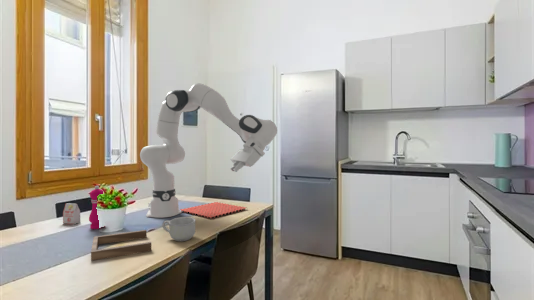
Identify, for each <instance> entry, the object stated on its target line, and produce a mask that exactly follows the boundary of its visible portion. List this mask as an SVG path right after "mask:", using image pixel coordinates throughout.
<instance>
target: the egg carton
mask: <svg viewBox="0 0 534 300" xmlns="http://www.w3.org/2000/svg"><path fill="white" fill-rule="evenodd" d="M246 209H248V207H247V206H246V207H244V206H240V205H239V206H238V205H235V204H229V203H223V202H218V201H214V202H210V203H205V204H200V205H197V206H196V205H195V206H191V207H187V208H186V207H185V208H183V209H182V208H179V210H180V211H182V212H183V213H184V214H188V212H189V214H192V216H196V217H197V216H198V217H200V218H204V219H206V218H207V219H210V220H212V219H216V216H217V218H219V217H221V218H222V217H223V215H224V216H226V215H227V214H228V215H230V213H231V214H233V213H234V214H236V213H240V212H243V211H246ZM196 214H197V215H196Z"/></svg>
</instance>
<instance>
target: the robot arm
mask: <svg viewBox="0 0 534 300" xmlns="http://www.w3.org/2000/svg"><path fill="white" fill-rule="evenodd" d="M200 109H203V110H205V111H206V112H207V113H209V114H211V115H212V116H213V117H215V118H216V119H217V120H219V121H221V122H222V123H223V124H224V125H226V126H227V127H228V128H229V129H231V130H232V131H233V132H234V133H236V134H237V135H238V136H239V137H240V139H241V141H242V142H243V145H242V147H243V148H241V149H239V150H238V151H236V152H235V153H234V155H233V156H231V158H230V161H231V162H232V163H233V164H232V166H231V167H230V171H231V172H234V173H237V172H238V171H239V170H240V169H241V170H242V168H243V167H250V168H251V167H253V166H254V165H255V164H256V163H257V162H258V161H259V160H260V159H261V157H263V156H265V152H264V150H265V149H266V147H267V146H268V145H270V144H271V142H272V141H273V140H274V139H275V137H276V136H277V134H278V127H277V126H276V124H275V123H274V122H273V121H272V120H271V119H262V118H259V117H256V116H255V115H253V114H245V115H243V116H242V117H241V118H238V117H237V116H235V115H234V114H233V113H232V111H231V109H230V107H229V105H228V103H227V101H226V99H225V97H224V96H222V95H221V93H219V92H218V91H217V90H215V89H214V88H212V87H210V86H208V85H206V84H204V83H199V82H197V83H196V82H195V83H194V84H193V85H192V86H191V87H190V89H189V90H184V89H176V90H171V91H169V92H168V93H167V94H166V95H165V100H164V101H162V103H161V105H160V108H159V112H158V114H157V115H158V117H157V122H156V129H155V133H156V134H157V136H158V137H159V138H161V139H162V144H151V145H147V146H144V147H142V149H141V150H140V153H139V157H140V161H141V162H142V164H143V165H145V166H146V167H147V168H148V169H149V171H150V173H151V176H152V183H153V187H152V188H153V189H152V199H150V201H149V202H148V211H147V213H146V215H145V216H146V218H156V219H159V218H170V217H174V216H177V215H179V214H182V213H183V211H181V210H180V208H179V198H178V197H176V188H175V175H174V174H173V173H172V172H171V171H169V170H168V169H167V165H174V164H178V163H181V162H183V161H184V159H185V155H186V152H185V149H184V148H183V146H181V144H180V142H179V135H178V134H179V127H180V119H181V114H183V113H190V112H191V113H193V112H197V111H199V110H200Z"/></svg>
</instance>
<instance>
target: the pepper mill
mask: <svg viewBox="0 0 534 300" xmlns="http://www.w3.org/2000/svg"><path fill="white" fill-rule="evenodd" d="M103 191H104V190H103V189H101V188H100V186H99V185H95V186H94V189H92V190H91V191H90V193H89V197H90V200H91V202H90V203H91V204H92V205H91V206H92V207H91V208H92V209H91V211H90V214H89V217H88V221H89V223H91V224H90V225H89V227H90V228H89V229H91V230H100V229H99V220H98V215H97V209H96V207H97V196H98V195H99V194H103Z"/></svg>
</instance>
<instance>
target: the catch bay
mask: <svg viewBox="0 0 534 300" xmlns="http://www.w3.org/2000/svg"><path fill="white" fill-rule="evenodd" d="M147 234H148V233H147V229H143V230H134V231H127V232H120V233H118V232H117V233H113V234H103V235H95V236H93V239H92V244H91V251H90V260H91V262H93V261H98V260H102V259H110V258H117V257H122V256H128V255H129V256H130V255H134V254H141V253H147V252H152V251H153V250H152V241H146V242H142V243H134V244H127V245H121V246H115V247H113V246H112V247H108V248H107V247H106V248H99V246H100V245H106V244H112V243H118V242H119V243H120V242H125V241H133V240H141V239H146V238H147V236H148V235H147Z"/></svg>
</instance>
